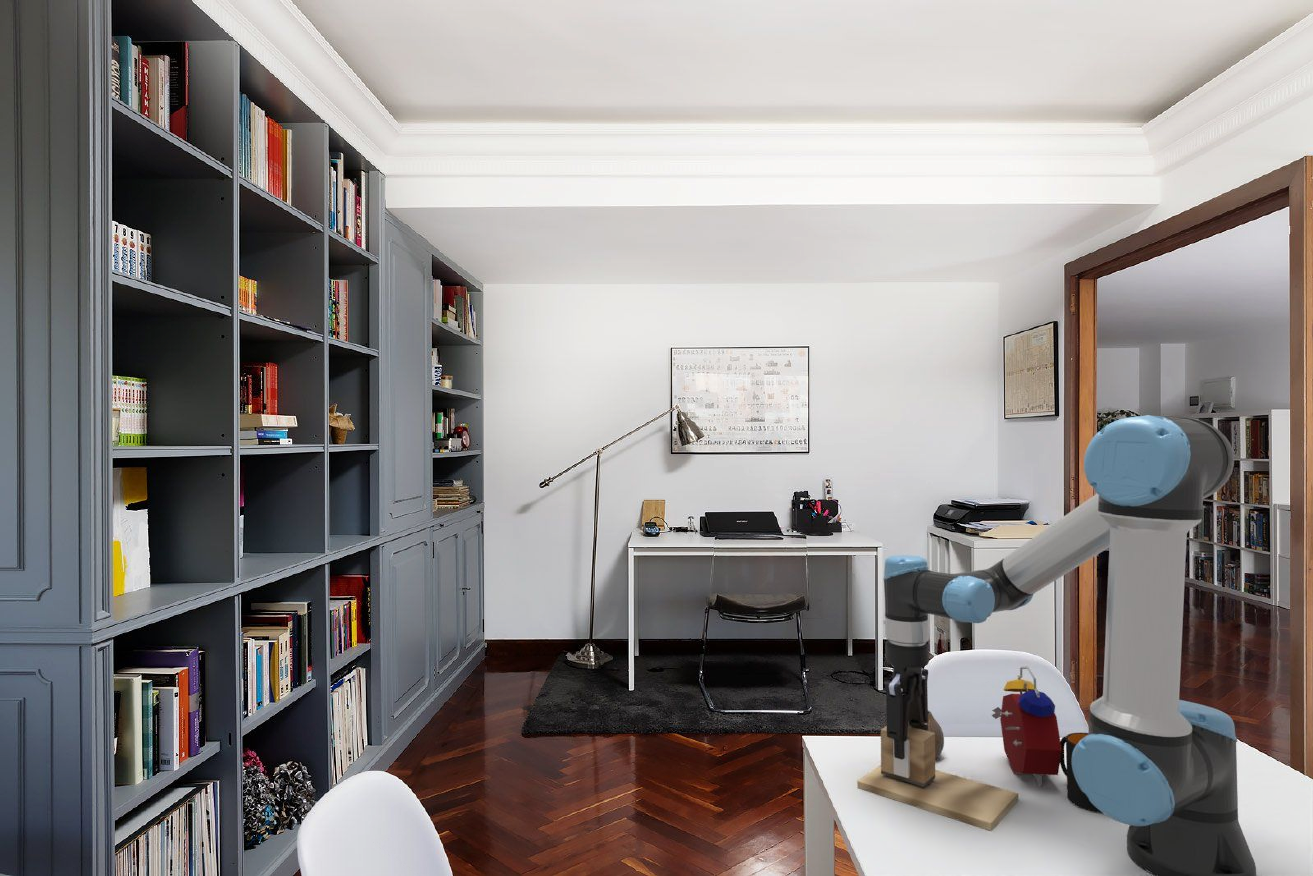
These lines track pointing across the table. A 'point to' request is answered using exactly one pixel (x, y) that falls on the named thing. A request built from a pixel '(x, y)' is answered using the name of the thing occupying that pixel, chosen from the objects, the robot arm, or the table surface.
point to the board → (946, 796)
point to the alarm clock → (1029, 729)
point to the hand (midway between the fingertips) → (908, 770)
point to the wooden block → (911, 756)
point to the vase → (939, 736)
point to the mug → (1073, 788)
